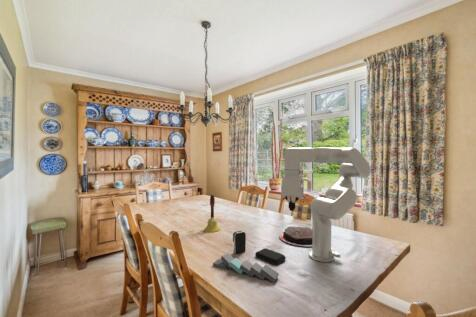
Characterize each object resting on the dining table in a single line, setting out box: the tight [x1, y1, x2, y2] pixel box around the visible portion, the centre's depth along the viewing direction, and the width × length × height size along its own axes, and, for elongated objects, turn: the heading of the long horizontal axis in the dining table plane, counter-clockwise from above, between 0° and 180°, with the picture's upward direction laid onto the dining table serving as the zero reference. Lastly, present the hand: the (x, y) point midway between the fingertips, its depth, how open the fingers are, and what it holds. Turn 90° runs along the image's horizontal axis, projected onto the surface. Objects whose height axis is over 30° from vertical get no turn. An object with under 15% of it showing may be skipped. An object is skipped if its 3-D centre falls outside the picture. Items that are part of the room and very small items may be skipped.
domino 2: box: [220, 253, 235, 269], centre depth 114 cm, size 2×5×7 cm
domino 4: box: [240, 259, 256, 278], centre depth 107 cm, size 2×5×7 cm
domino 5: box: [250, 262, 266, 281], centre depth 104 cm, size 2×5×7 cm
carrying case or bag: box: [254, 248, 287, 266], centre depth 122 cm, size 11×3×15 cm
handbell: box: [203, 194, 222, 234], centre depth 167 cm, size 12×12×25 cm
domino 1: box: [212, 258, 229, 270], centre depth 114 cm, size 2×5×7 cm
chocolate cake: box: [279, 226, 312, 248], centre depth 150 cm, size 28×28×7 cm
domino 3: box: [229, 257, 245, 275], centre depth 109 cm, size 2×5×7 cm
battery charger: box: [232, 230, 247, 255], centre depth 130 cm, size 7×4×11 cm, turn 122°
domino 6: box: [260, 264, 280, 284], centre depth 102 cm, size 2×5×7 cm
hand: (291, 210), depth 114 cm, fingers closed
